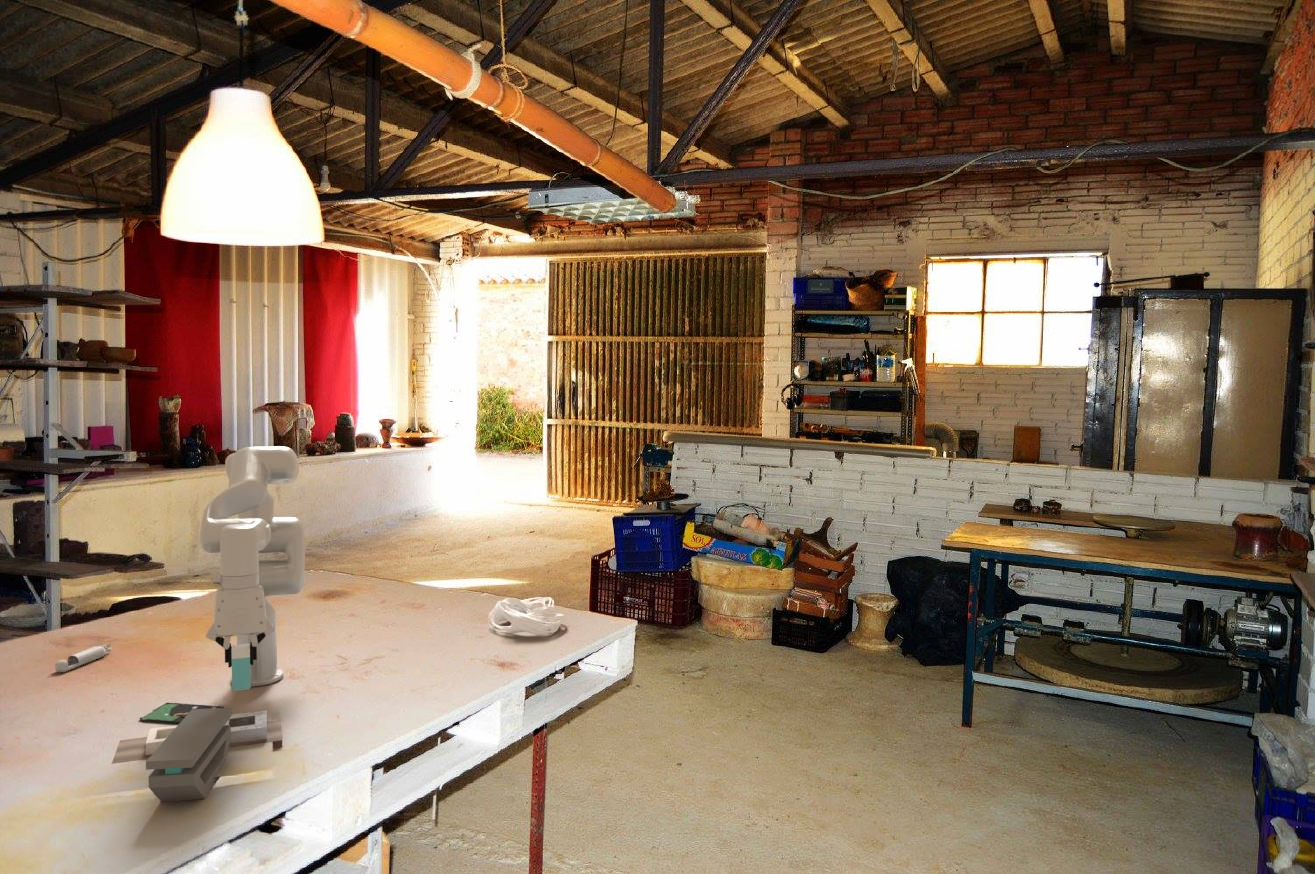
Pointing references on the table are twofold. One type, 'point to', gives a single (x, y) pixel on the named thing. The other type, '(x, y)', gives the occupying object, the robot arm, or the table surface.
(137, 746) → the board
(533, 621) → the coil
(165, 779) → the grey slotted long block
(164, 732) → the cream square frame
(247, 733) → the port
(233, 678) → the plug
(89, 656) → the torpedo
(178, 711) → the disk drive
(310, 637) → the table surface
